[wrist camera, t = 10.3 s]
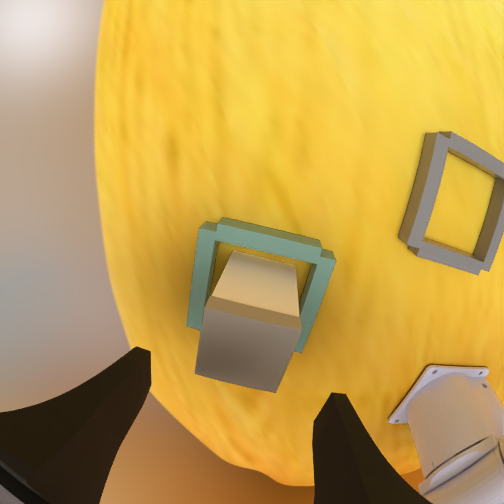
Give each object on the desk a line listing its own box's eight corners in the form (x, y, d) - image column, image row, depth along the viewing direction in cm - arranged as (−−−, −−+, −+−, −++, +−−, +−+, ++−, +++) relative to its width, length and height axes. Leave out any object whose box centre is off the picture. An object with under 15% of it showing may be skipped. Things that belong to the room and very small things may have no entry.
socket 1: (334, 244, 17) (338, 252, 16) (298, 345, 20) (299, 358, 19) (207, 213, 17) (200, 219, 16) (191, 320, 20) (185, 331, 19)
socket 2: (506, 170, 14) (518, 173, 12) (476, 269, 16) (486, 278, 15) (427, 126, 14) (438, 124, 12) (395, 244, 17) (403, 252, 15)
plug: (296, 264, 18) (301, 330, 11) (279, 317, 19) (275, 393, 13) (232, 249, 18) (204, 306, 11) (221, 303, 19) (194, 373, 13)
